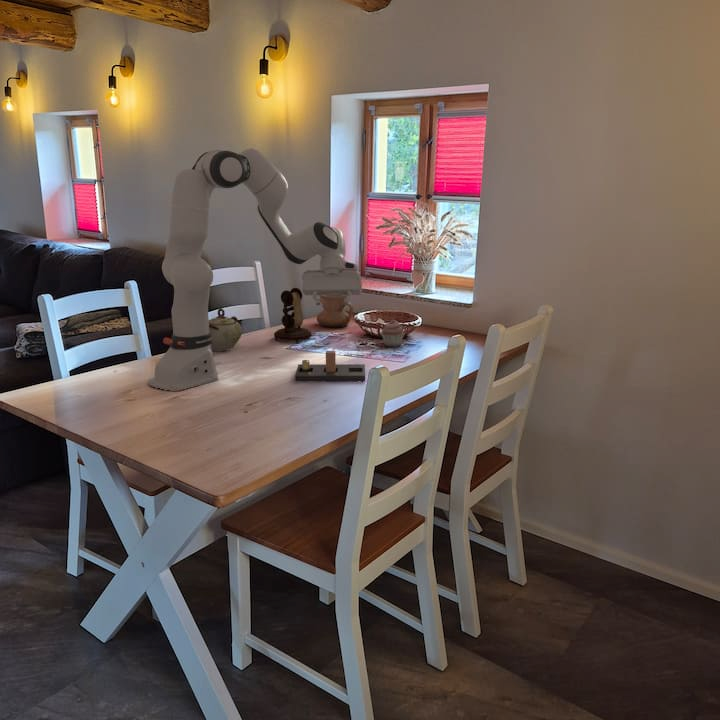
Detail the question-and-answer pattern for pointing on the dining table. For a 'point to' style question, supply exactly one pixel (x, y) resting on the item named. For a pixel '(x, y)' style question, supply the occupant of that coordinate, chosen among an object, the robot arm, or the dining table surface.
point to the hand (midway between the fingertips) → (332, 304)
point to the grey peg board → (319, 372)
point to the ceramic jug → (334, 311)
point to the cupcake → (392, 334)
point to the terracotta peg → (330, 361)
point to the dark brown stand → (292, 317)
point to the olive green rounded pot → (224, 331)
